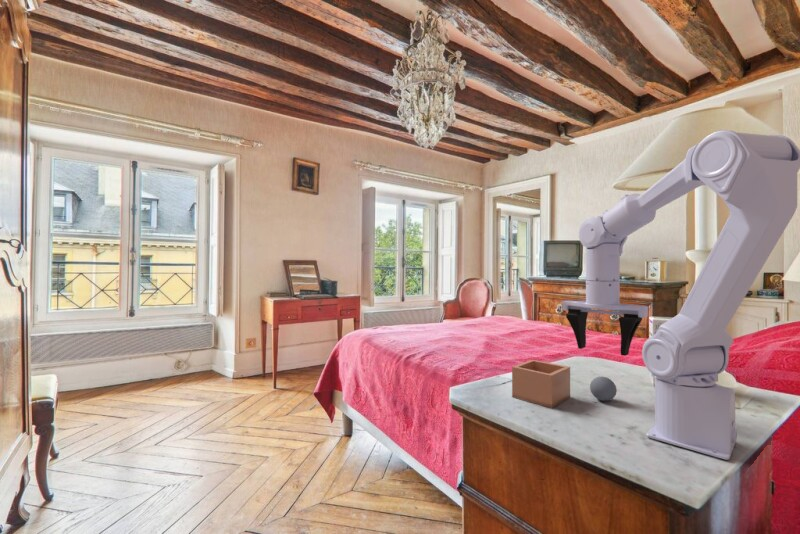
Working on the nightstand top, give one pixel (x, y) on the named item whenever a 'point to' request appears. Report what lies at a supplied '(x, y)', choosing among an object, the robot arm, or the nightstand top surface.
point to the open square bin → (541, 383)
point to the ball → (603, 388)
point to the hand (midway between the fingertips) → (602, 351)
